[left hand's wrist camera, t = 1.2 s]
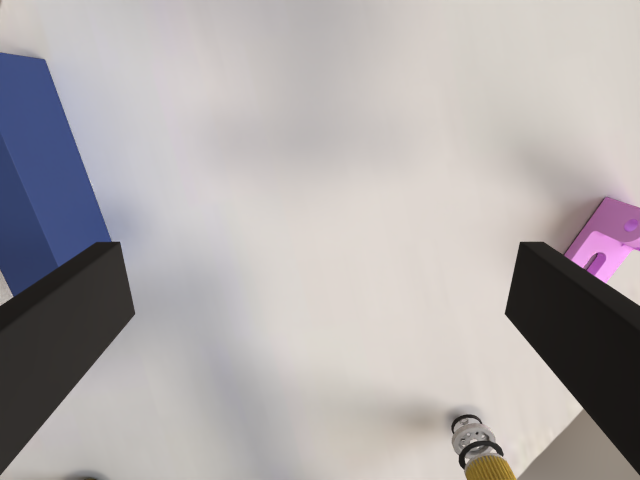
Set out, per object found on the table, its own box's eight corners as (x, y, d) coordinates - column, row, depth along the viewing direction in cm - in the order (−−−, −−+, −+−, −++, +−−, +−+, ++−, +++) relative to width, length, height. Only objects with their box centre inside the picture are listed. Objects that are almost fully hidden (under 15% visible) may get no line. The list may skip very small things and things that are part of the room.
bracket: (605, 196, 42) (659, 214, 35) (645, 215, 43) (704, 236, 36) (538, 291, 46) (574, 322, 39) (574, 307, 47) (616, 340, 40)
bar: (-8, 68, 37) (-104, 58, 29) (45, 59, 37) (-37, 46, 28) (77, 272, 45) (21, 312, 36) (121, 266, 45) (75, 305, 36)
